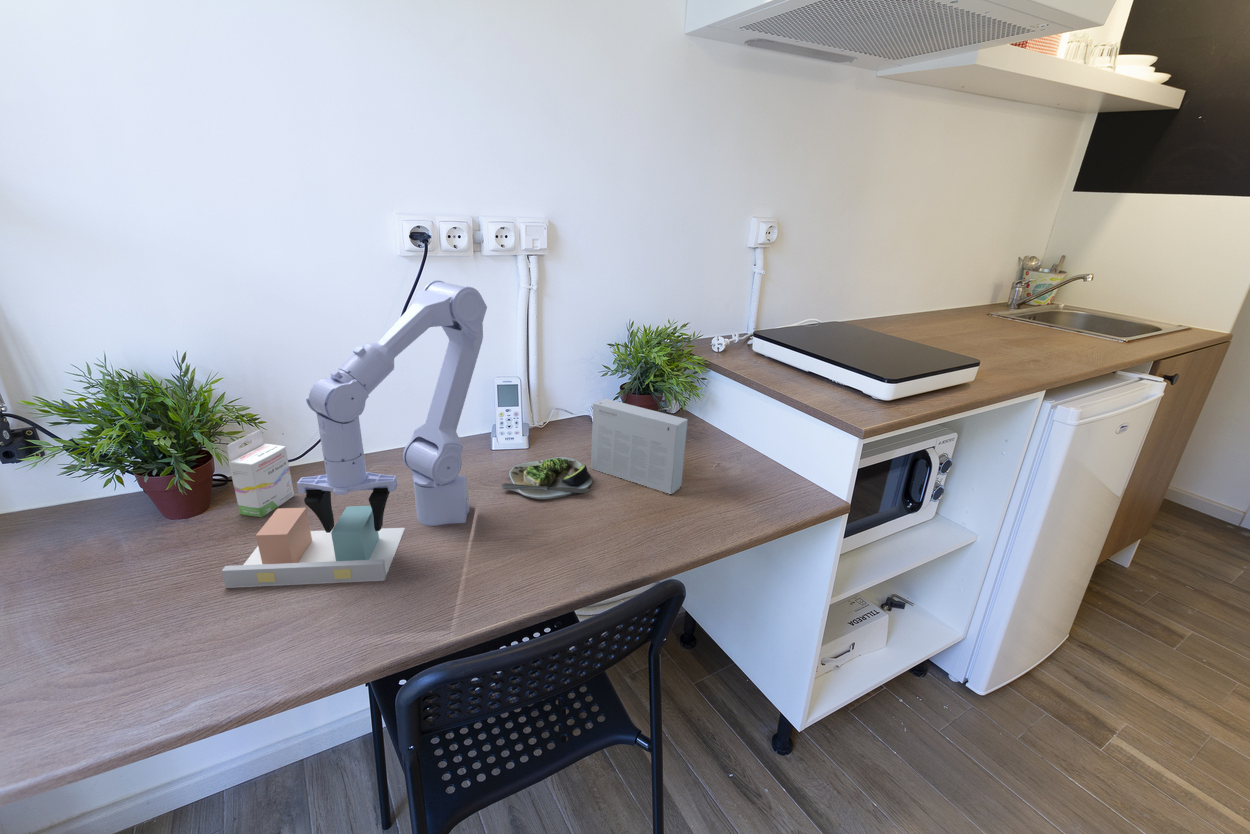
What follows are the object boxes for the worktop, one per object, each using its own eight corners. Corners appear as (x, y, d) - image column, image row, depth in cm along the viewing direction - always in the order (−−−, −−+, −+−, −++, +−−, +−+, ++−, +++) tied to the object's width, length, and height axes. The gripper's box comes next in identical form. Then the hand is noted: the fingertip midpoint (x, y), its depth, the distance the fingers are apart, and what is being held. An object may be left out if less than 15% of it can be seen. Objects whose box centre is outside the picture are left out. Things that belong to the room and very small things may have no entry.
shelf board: (405, 532, 105) (403, 513, 104) (384, 585, 92) (382, 564, 90) (269, 537, 102) (265, 517, 101) (226, 593, 88) (220, 571, 87)
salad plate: (510, 513, 114) (509, 492, 112) (491, 473, 129) (490, 454, 127) (602, 497, 121) (603, 477, 119) (574, 460, 136) (575, 442, 134)
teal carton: (379, 537, 102) (374, 505, 99) (366, 565, 94) (361, 531, 92) (351, 538, 101) (345, 506, 99) (336, 567, 94) (330, 532, 91)
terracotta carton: (312, 540, 100) (306, 507, 98) (294, 568, 93) (286, 534, 91) (283, 541, 100) (276, 508, 97) (262, 570, 92) (254, 535, 90)
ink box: (263, 522, 107) (247, 449, 101) (240, 518, 107) (222, 446, 102) (297, 499, 115) (283, 430, 109) (275, 496, 115) (260, 427, 110)
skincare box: (683, 486, 126) (689, 418, 120) (671, 496, 122) (677, 426, 116) (603, 460, 136) (604, 396, 130) (589, 468, 132) (590, 403, 126)
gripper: (283, 466, 86) (298, 543, 91) (385, 464, 88) (394, 540, 93) (301, 446, 93) (314, 520, 98) (396, 445, 95) (404, 517, 100)
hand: (354, 528), depth 96 cm, fingers open, 7 cm apart
